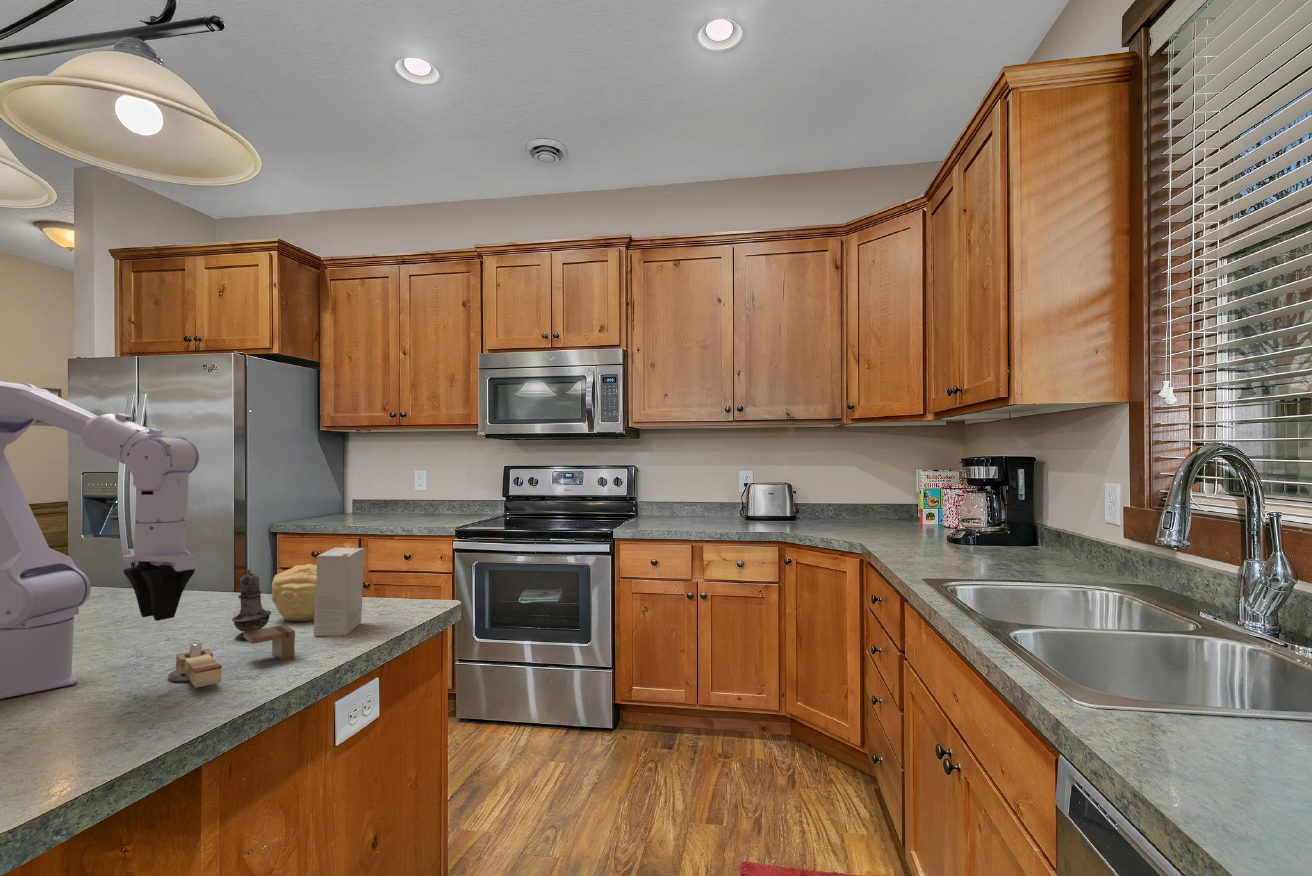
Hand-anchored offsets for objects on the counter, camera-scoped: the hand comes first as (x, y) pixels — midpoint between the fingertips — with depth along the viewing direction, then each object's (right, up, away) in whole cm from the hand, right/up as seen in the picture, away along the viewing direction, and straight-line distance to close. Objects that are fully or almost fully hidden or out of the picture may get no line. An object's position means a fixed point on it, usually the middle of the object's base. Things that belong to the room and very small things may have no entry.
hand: (157, 617), depth 83 cm
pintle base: (+3, -10, +3) cm, 10 cm away
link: (+5, -9, +1) cm, 10 cm away
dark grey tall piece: (-2, -10, +22) cm, 24 cm away
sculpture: (+1, -11, +35) cm, 37 cm away
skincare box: (+12, -11, +26) cm, 31 cm away
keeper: (+9, -10, +10) cm, 17 cm away
